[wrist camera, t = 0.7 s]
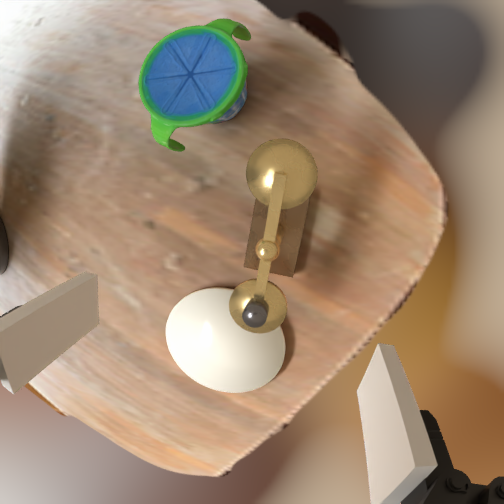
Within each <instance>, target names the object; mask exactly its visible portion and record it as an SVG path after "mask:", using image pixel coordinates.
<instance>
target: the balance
mask: <svg viewBox="0 0 504 504" xmlns="http://www.w3.org/2000/svg"><path fill="white" fill-rule="evenodd" d="M246 178H247V183H248V186H249V188H250V190H251V192H252V194H253V195H254V196H255V197H256V200H255V206H254V212H253V217H252V223H251V229H250V234H249V240H248V246H247V252H246V257H245V263H244V267H247V268H251V269H256V270H258V275H257V279H250V280H247V281H244V282H242V283H241V284H239V285H238V286H237V287H236V288H235V290H234V291H233V293H232V294H231V297H230V300H229V311H230V314H231V316H232V318H233V320H234V321H235V322H236V324H237V325H239V326H240V327H241V328H242V329H244V330H246V331H249V332H252V333H259V334H260V333H268V332H271V331H273V330H275V329H276V328H278V327H279V326H280V325H281V324H282V322H283V321H284V319H285V317H286V312H287V301H286V298H285V295H284V294H283V292H282V291H281V289H280V288H279V287H278V286H276V285H275V284H274V283H272V282H270V281H268V277H269V273H274V274H279V275H283V276H288V277H293V275H294V270H295V266H296V261H297V257H298V252H299V248H300V243H301V239H302V234H303V229H304V225H305V220H306V215H307V210H308V205H309V200H310V195H311V194H312V192H313V191H314V188H315V186H316V183H317V166H316V163H315V160H314V158H313V156H312V155H311V153H310V152H309V151H308V150H307V149H306V148H305V147H304V146H302V145H301V144H299V143H298V142H295V141H293V140H289V139H274V140H270V141H268V142H265V143H264V144H262V145H260V146H259V147H258V148H257V149H256V150H255V151H254V152H253V154H252V155H251V157H250V159H249V161H248V164H247V169H246Z"/></svg>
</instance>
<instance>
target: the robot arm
mask: <svg viewBox="0 0 504 504" xmlns="http://www.w3.org/2000/svg"><path fill="white" fill-rule="evenodd" d="M7 263H8V242H7V236H6V232H5V228H4V225H3V222H2V220H1V218H0V274H2V273H3V272H4V271H5V269H6V267H7ZM99 324H100V322H99V306H98V276H97V275H96V274H93V273H90V272H87V271H85V272H83V273H81V274H80V275H78V276H76V277H74V278H72V279H70V280H68V281H66V282H64V283H62V284H60V285H59V286H57V287H55V288H53V289H51V290H49V291H47V292H46V293H44V294H42V295H40V296H38V297H36V298H35V299H33V300H31V301H29V302H27V303H26V304H24V305H21V306H17V307H15V308H14V309H12V310H10V311H9V312H8V313H7V312H6V313H5V314H3V315H2V317H1V316H0V380H1V383H2V385H3V386H4V387H5V388H7V390H9V391H10V392H11V393H13V394H15V393H16V392H17V391H18V390H20V389H21V388H22V387H23V386H24V385H26V384H27V383H28V382H29V381H30V380H31V379H33V378H34V377H35V376H36V375H37V374H39V373H40V372H41V371H42V370H43V369H45V368H46V367H47V366H48V365H49V364H51V363H52V362H53V361H54V360H55V359H57V358H58V357H59V356H60V355H61V354H63V353H64V352H65V351H66V350H68V349H69V348H70V347H71V346H72V345H74V344H75V343H76V342H77V341H79V340H80V339H81V338H82V337H84V336H85V335H86V334H87V333H89V332H90V331H91V330H92V329H94V328H95V327H96V326H97V325H99ZM357 395H358V401H359V407H360V414H361V421H362V428H363V435H364V443H365V451H366V459H367V468H368V478H369V488H370V501H371V504H400V503H401V504H504V477H497V478H495V479H494V480H493V481H492V482H491V483H490V484H489V485H487V486H486V485H479V484H472V483H471V482H470V479H469V478H468V476H467V475H466V474H465V473H463V472H462V471H459V470H457V469H454V468H453V465H452V462H451V459H450V456H449V453H448V450H447V447H446V445H445V442H444V440H443V437H442V434H441V432H440V429H439V426H438V423H437V421H436V419H435V418H434V417H433V415H432V414H431V413H430V412H429V411H428V410H419V408H418V405H417V402H416V400H415V397H414V395H413V392H412V389H411V387H410V384H409V382H408V379H407V377H406V374H405V372H404V369H403V367H402V364H401V362H400V359H399V357H398V355H397V352H396V350H395V347H394V345H387V344H381V343H378V344H377V347H376V350H375V352H374V354H373V356H372V359H371V361H370V364H369V366H368V368H367V370H366V372H365V375H364V377H363V379H362V381H361V383H360V385H359V388H358V390H357Z"/></svg>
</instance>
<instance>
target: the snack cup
mask: <svg viewBox="0 0 504 504" xmlns="http://www.w3.org/2000/svg"><path fill="white" fill-rule="evenodd" d="M232 34H233V35H234V36H235V37H236V38H239V39H241V40H246V41H249V40H250V39H251V35H250V33H249V31H248V29H247V28H246V27H245V26H244V25H242V24H241V23H238V22H235V21H232V20H230V19H217V20H215V21H212V22H211V23H209V24H207V25H205V26H190V27H185V28H182V29H179V30H177V31H175V32H173V33H170V34H169V35H167V36H165V37H164V38H163V39H162V40H160V41H159V42H158V43H157V44H156V45H155V46H154V47H153V48H152V49H151V51H150V52H149V54H148V55H147V57H146V59H145V60H144V63H143V65H142V68H141V71H140V75H139V93H140V97H141V99H142V102H143V104H144V106H145V107H146V109H147V110H148V111H149V112H150V114H151V130H152V134H153V137H154V139H155V140H156V142H158V143H159V144H161V145H163V146H165V147H167V148H169V149H171V150H173V151H184V150H185V146H183V145H182V144H180V143H179V142H177V141H175V140H172V139H170V136H171V134H172V133H173V132H174V130H175V129H176V128H178V127H194V126H199V125H203V124H216V123H221V122H224V121H227V120H230V119H232V118H233V117H235V115H236V114H237V113H238V112H239V111H240V110H241V108H242V107H243V105H244V103H245V100H246V98H247V83H246V77H247V74H248V65H247V63H246V61H245V58H244V55H243V53H242V51H241V49H240V47H239V46H238V44H237V43H236V42H235V40H234V39H233V38H232Z"/></svg>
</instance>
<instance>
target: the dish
mask: <svg viewBox="0 0 504 504" xmlns="http://www.w3.org/2000/svg"><path fill="white" fill-rule="evenodd" d="M233 291H234V289H229V288H221V287H213V288H205V289H200V290H197V291H195V292H192V293H191V294H189V295H187V296H186V297H184V298H183V299H182V300H181V301H180V302H179V303H178V304H177V305H176V306H175V307H174V308H173V310H172V311H171V313H170V315H169V318H168V321H167V325H166V339H167V344H168V348H169V350H170V353H171V355H172V357H173V358H174V360H175V362H176V363H177V364H178V366H179V367H180V368H181V369H182V370H183V371H184V372H185V373H186V374H187V375H188V376H189V377H191V378H192V379H193V380H195V381H196V382H198V383H200V384H202V385H204V386H206V387H208V388H211V389H214V390H217V391H222V392H229V393H240V392H247V391H252V390H255V389H257V388H260V387H262V386H264V385H265V384H267V383H268V382H270V381H271V380H272V379H273V378H274V377H275V376H276V374H277V373H278V372H279V370H280V368H281V366H282V364H283V361H284V356H285V345H286V344H285V337H284V334H283V330H282V328H281V326H279V327H278V328H276V329H275V330H273V331H271V332H268V333H260V334H259V333H252V332H249V331H246V330H244V329H242V328H241V327H240V326H239V325H237V324H236V322H235V321H234V320H233V318H232V316H231V314H230V311H229V300H230V297H231V294H232V293H233Z"/></svg>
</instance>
